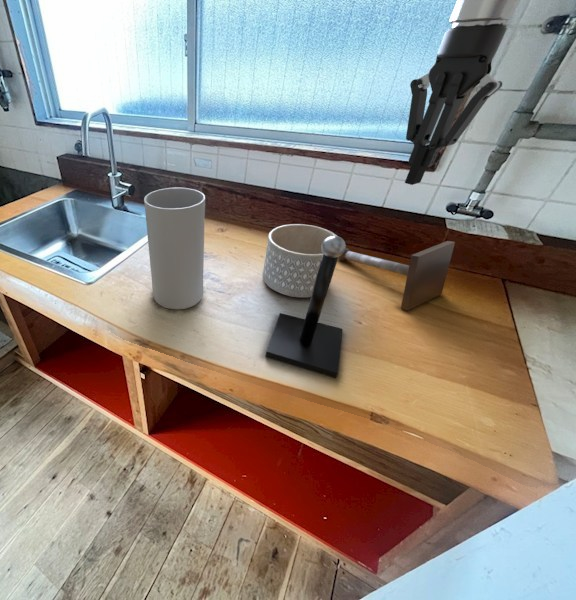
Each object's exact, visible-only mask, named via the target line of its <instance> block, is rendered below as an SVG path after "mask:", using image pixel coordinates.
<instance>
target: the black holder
mask: <svg viewBox="0 0 576 600" xmlns="http://www.w3.org/2000/svg"><path fill="white" fill-rule="evenodd" d="M345 248H347V245H346V241H345V240H344V239H343V238H342V237H340V236H339V235H337V236H330V237H328V238H326V239H325V240H324V241H323V243H322V245H321V251H322V253H323V256H322V260H321V263H320V267H319V270H318V274H317V278H316V281H315V285H314V288H313V292H312V295H311V297H310V299H309V302H308V307H307V310H306V314H305V317H304V318H301V317H297V316H293V315H290V314H286V313H282V312H279V314H278V317H277V319H276V322H275V326H274V329H273V331H272V334H271V337H270V340H269V342H268V346H267V348H266V350H265V355H264V356H265V358H268V359H271V360H275V361H278V362H282V363H284V364H288V365H292V366H295V367H297V368H302V369H305V370H308V371H311V372H314V373H317V374H321V375H324V376H327V377H331V378H334V379H336V378H337V376H338V374H339V367H340V357H341V349H342V338H343V330H344V329H343V328H341V327H338V326H335V325H331V324H325V323H322V322H320V317H321V314H322V311H323V308H324V304H325V301H326V298H327V295H328V292H329V289H330V286H331V282H332V279H333V276H334V274H335V273H334V272H335V270H336V266H337V263H338V260H339V259H338V257H339V256H341V255H342V254H343V253H344V251H345Z"/></svg>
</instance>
